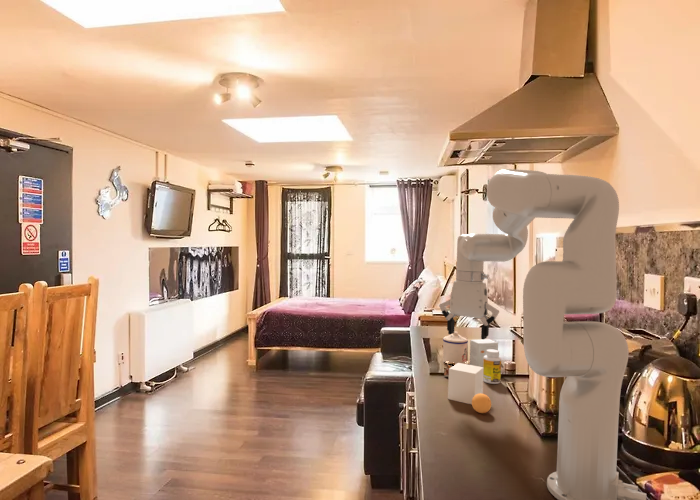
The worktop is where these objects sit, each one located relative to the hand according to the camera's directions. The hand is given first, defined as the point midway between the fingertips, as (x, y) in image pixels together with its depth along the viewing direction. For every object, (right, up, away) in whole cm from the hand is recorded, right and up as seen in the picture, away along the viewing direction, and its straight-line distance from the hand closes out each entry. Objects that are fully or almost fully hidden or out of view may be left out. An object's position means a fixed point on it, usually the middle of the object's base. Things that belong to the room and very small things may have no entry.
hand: (467, 336), depth 128 cm
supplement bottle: (+12, -18, +16) cm, 27 cm away
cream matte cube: (0, -18, 0) cm, 18 cm away
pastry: (+1, -18, +23) cm, 30 cm away
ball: (+1, -16, -10) cm, 19 cm away
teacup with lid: (+5, -17, +38) cm, 43 cm away
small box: (+13, -18, +29) cm, 36 cm away
